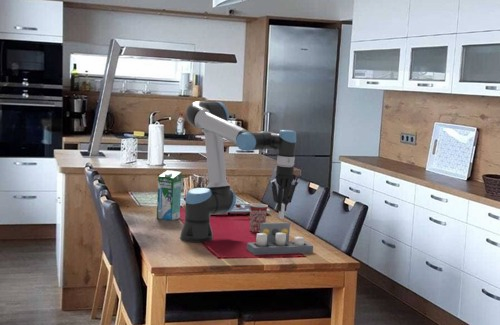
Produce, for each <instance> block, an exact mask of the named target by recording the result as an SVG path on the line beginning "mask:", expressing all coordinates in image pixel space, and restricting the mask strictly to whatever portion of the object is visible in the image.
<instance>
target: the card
mask: <svg viewBox="0 0 500 325" xmlns="http://www.w3.org/2000/svg"><path fill="white" fill-rule="evenodd" d="M290 229H291V223H290V222H265V223H261V226H260V233H265V234H267V242H275V238H276V233H279V232H280V233H286V241H290Z"/></svg>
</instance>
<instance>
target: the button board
mask: <svg viewBox="0 0 500 325" xmlns="http://www.w3.org/2000/svg"><path fill="white" fill-rule="evenodd" d="M246 250H247V251H248V252H250V253H251V254H252V255H253V256H259V255H260V256H261V255H282V254H285V255H286V254H288V255H289V254H307V253H309V254H310V253H312V254H313V252H314V245H312V244H311V243H309V242H308V241H306V240H304V245H298V246H295V245H294V240H292V241H290V240H289V241H286V244H285V246H277V245H275V242H267V246H265V247H259V246H256V242H247V243H246Z"/></svg>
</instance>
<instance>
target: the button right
mask: <svg viewBox="0 0 500 325" xmlns="http://www.w3.org/2000/svg"><path fill="white" fill-rule="evenodd" d="M293 241H294V245H295V246H298V245H304V241H305V237H302V236H294V237H293Z"/></svg>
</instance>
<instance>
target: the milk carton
mask: <svg viewBox="0 0 500 325" xmlns="http://www.w3.org/2000/svg"><path fill="white" fill-rule="evenodd" d="M182 173H183V172H182V171H176V170H170V169H169V170H168V169H166V170H165V171H164V172H162V173H160V175H158V178H157V197H156V198H157V201H156V205H157V206H156V219H157V220H163V221H164V220H165V221H168V222H169V221H170V222H173V221H175V220H177V219H180V217H181V215H180V214H181V197H182V196H181V194H182V192H181V191H182V176H183V175H182Z"/></svg>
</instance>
